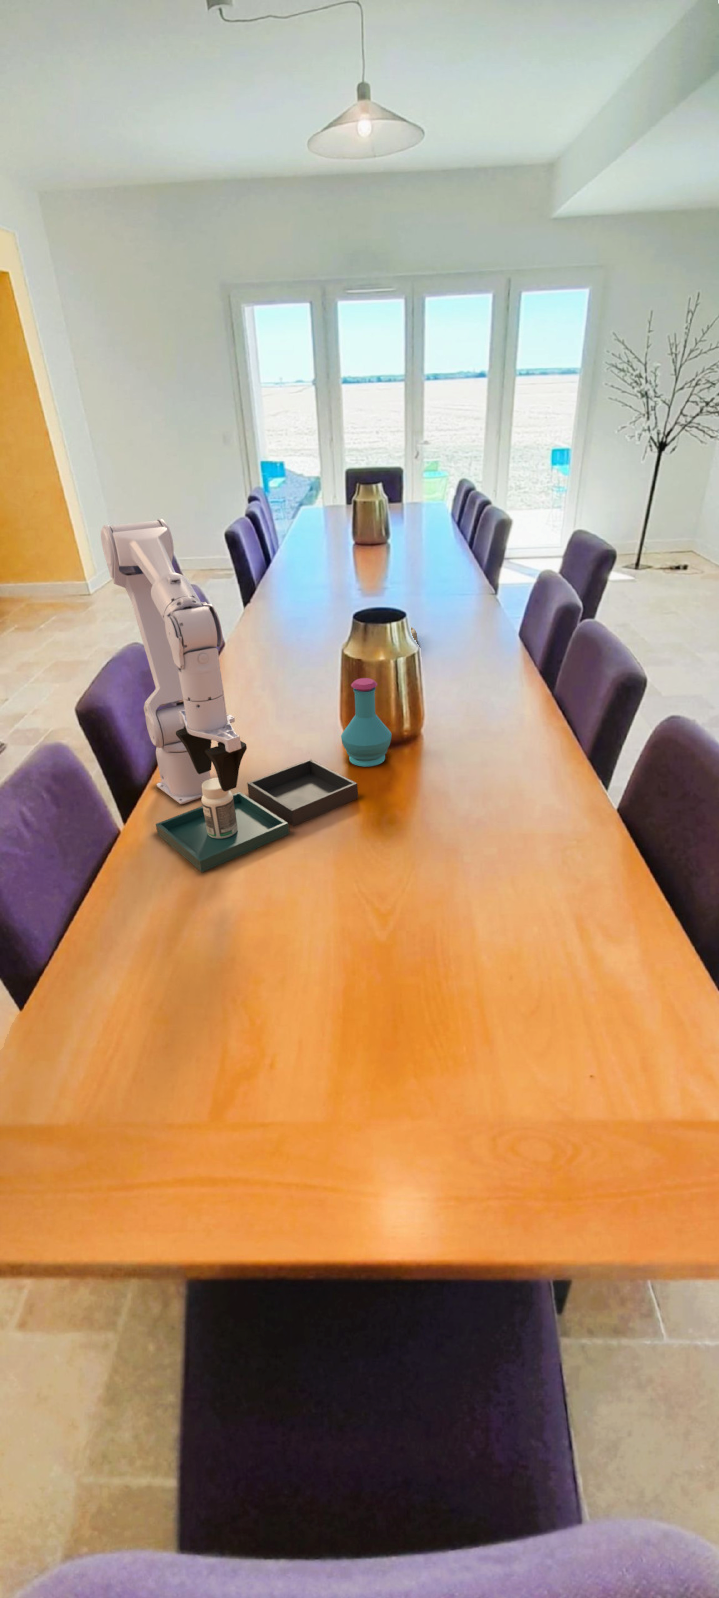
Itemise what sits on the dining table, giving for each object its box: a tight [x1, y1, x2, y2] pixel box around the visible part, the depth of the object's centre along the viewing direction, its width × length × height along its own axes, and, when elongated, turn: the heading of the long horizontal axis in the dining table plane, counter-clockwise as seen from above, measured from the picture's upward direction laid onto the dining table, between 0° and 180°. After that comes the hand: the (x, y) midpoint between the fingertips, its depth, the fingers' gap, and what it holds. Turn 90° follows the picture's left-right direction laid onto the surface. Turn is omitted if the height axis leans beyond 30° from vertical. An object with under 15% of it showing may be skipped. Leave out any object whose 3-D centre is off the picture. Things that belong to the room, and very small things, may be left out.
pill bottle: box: [200, 777, 238, 839], centre depth 109 cm, size 5×5×8 cm
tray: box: [155, 791, 290, 873], centre depth 111 cm, size 14×15×2 cm
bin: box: [246, 758, 359, 827], centre depth 120 cm, size 13×13×3 cm
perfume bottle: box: [340, 677, 392, 768], centre depth 130 cm, size 9×9×15 cm
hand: (216, 780), depth 108 cm, fingers open, 7 cm apart
